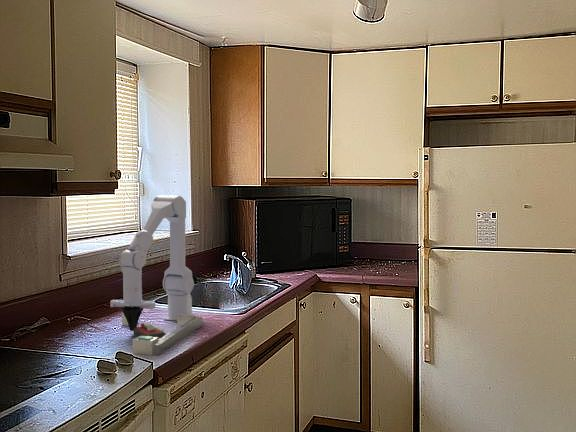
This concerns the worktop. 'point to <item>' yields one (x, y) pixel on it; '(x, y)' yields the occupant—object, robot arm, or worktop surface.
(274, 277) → the worktop surface
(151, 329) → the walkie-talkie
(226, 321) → the worktop surface
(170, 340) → the off-white long bar
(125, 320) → the module
